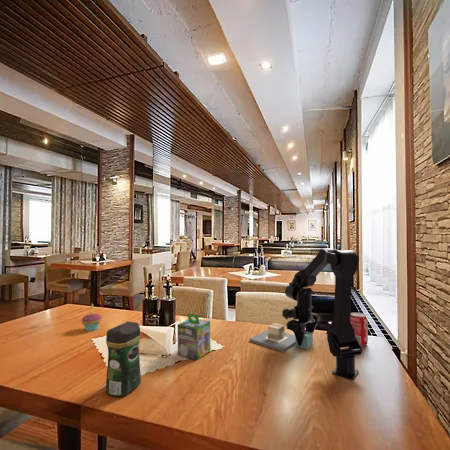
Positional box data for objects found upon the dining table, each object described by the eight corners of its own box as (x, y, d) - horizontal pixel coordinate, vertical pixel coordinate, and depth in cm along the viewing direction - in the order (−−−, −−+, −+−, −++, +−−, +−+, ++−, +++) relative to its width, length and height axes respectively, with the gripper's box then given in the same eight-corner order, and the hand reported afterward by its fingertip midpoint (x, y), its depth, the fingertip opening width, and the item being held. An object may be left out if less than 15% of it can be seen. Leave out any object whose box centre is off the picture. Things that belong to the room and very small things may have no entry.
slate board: (283, 352, 108) (283, 349, 108) (249, 341, 119) (249, 338, 119) (302, 339, 120) (302, 337, 120) (270, 330, 131) (270, 328, 131)
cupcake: (82, 327, 134) (82, 302, 134) (101, 325, 138) (101, 300, 138) (81, 334, 126) (81, 306, 126) (102, 331, 130) (102, 304, 130)
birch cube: (278, 341, 116) (278, 328, 116) (267, 338, 119) (267, 326, 119) (284, 337, 120) (284, 325, 120) (274, 334, 123) (274, 323, 123)
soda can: (363, 340, 119) (363, 312, 120) (370, 347, 112) (370, 317, 113) (346, 340, 120) (346, 311, 120) (352, 347, 113) (352, 316, 113)
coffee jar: (124, 377, 89) (124, 318, 89) (145, 383, 86) (145, 321, 86) (100, 394, 80) (100, 328, 80) (122, 400, 77) (122, 331, 78)
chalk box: (211, 351, 109) (211, 312, 109) (196, 360, 101) (197, 318, 101) (191, 346, 114) (192, 308, 114) (176, 354, 106) (176, 314, 106)
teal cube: (307, 349, 111) (307, 336, 111) (295, 345, 114) (295, 333, 114) (312, 345, 115) (312, 332, 115) (301, 342, 118) (301, 330, 118)
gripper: (296, 296, 127) (296, 331, 127) (274, 304, 113) (274, 344, 113) (320, 300, 120) (320, 337, 120) (300, 310, 106) (300, 352, 106)
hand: (304, 342), depth 115 cm, fingers open, 8 cm apart
